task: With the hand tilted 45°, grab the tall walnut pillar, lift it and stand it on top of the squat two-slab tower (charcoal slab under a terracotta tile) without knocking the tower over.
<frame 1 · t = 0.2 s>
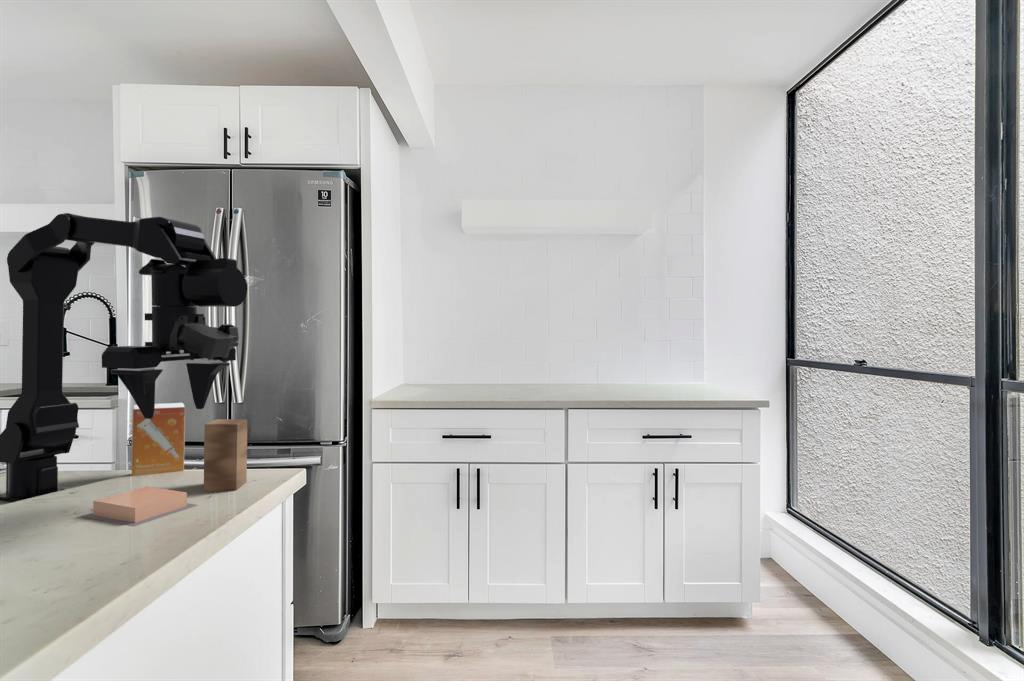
hand: (175, 413, 84), 15 cm above the countertop, tool pointing down, fingers open, 9 cm apart
terracotta tile: (141, 510, 82), point 1 cm above the countertop, touching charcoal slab
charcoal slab: (141, 524, 82), on the countertop, touching terracotta tile
small box: (157, 477, 105), on the countertop
walnut pillar: (225, 493, 95), on the countertop
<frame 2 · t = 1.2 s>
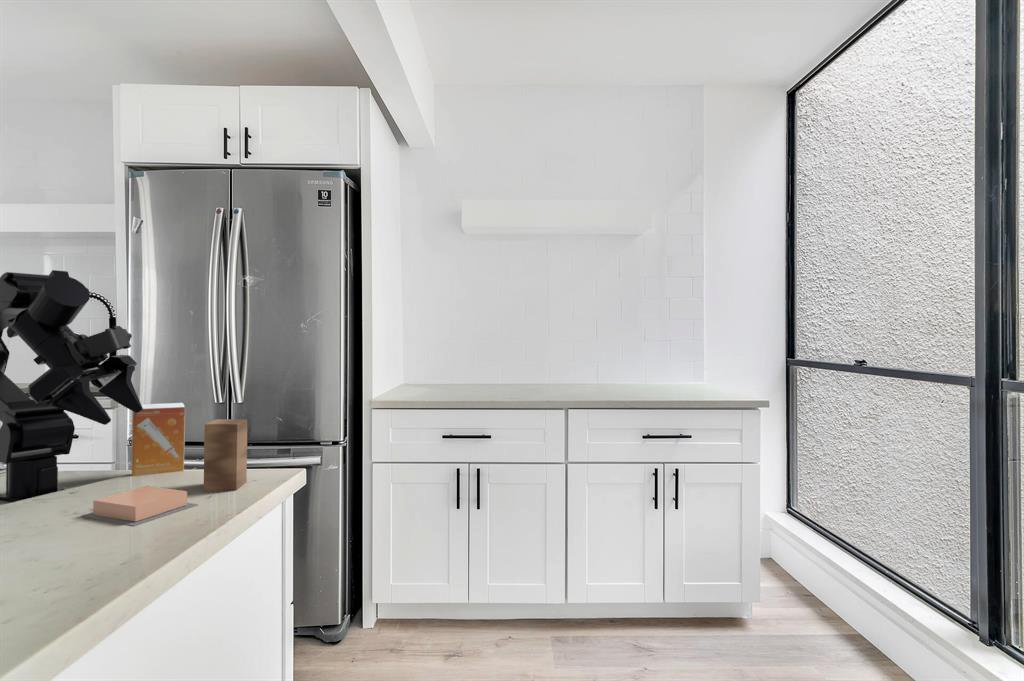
hand: (125, 416, 92), 13 cm above the countertop, tool tilted 40°, fingers open, 9 cm apart
nothing on the countertop moved.
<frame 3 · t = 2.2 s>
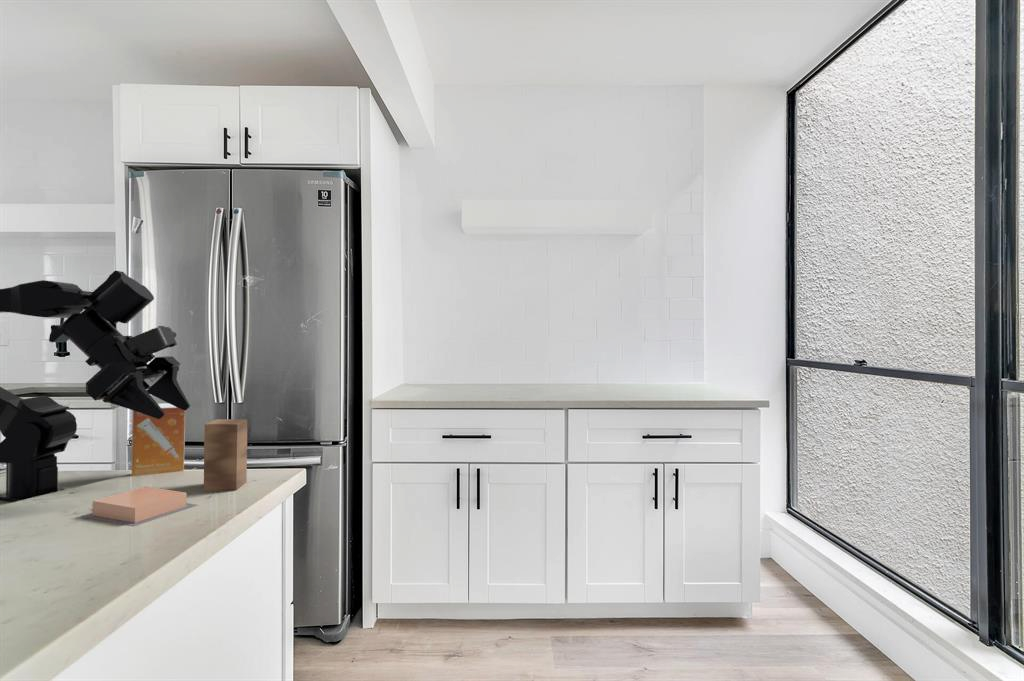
hand: (175, 412, 94), 13 cm above the countertop, tool tilted 45°, fingers open, 9 cm apart
terracotta tile: (140, 510, 82), point 1 cm above the countertop
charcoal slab: (141, 524, 82), on the countertop
everything else where it was.
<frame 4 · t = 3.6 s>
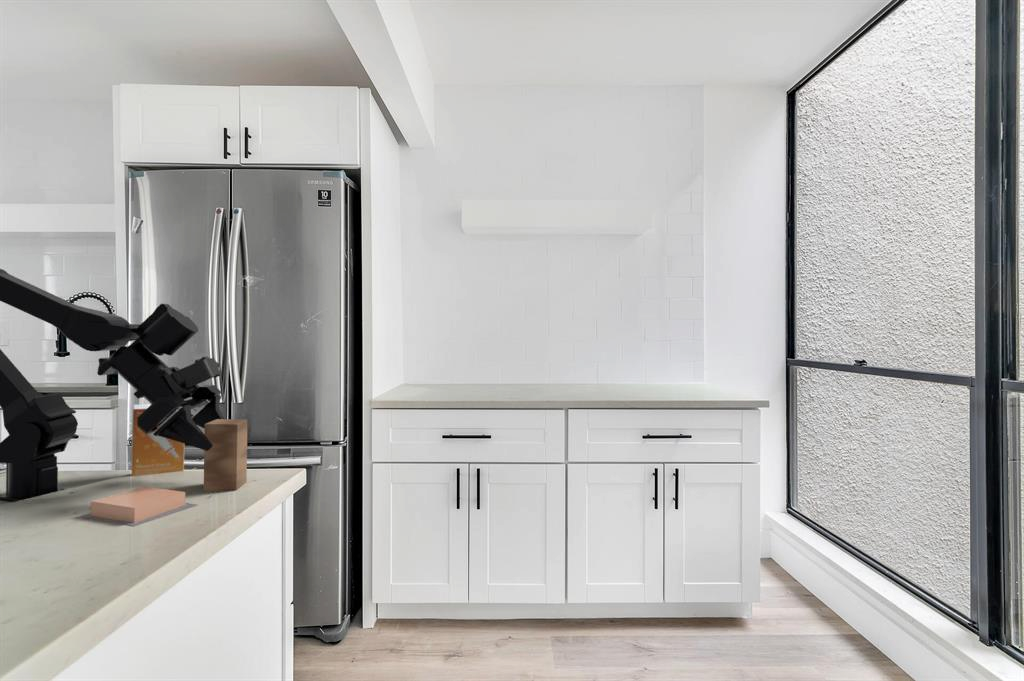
hand: (221, 442, 95), 8 cm above the countertop, tool tilted 45°, fingers open, 9 cm apart
terracotta tile: (139, 510, 82), point 1 cm above the countertop, touching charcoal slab
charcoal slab: (141, 524, 82), on the countertop, touching terracotta tile
everything else where it was.
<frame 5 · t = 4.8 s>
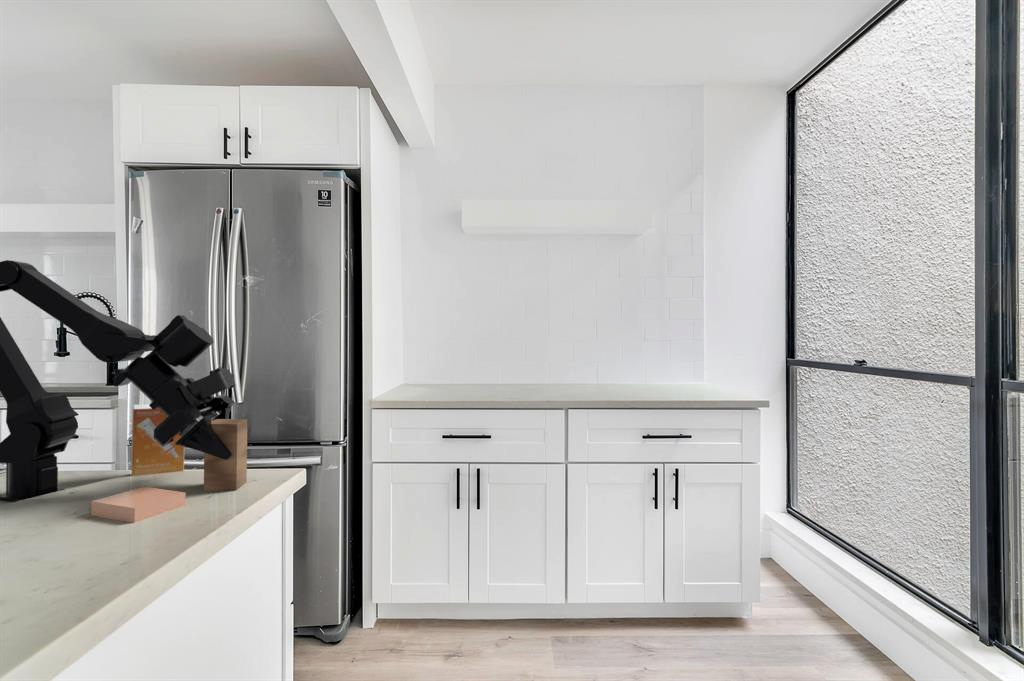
hand: (235, 453, 95), 7 cm above the countertop, tool tilted 45°, fingers closed on walnut pillar, 5 cm apart
walnut pillar: (225, 493, 95), on the countertop, touching gripper
everything else where it was.
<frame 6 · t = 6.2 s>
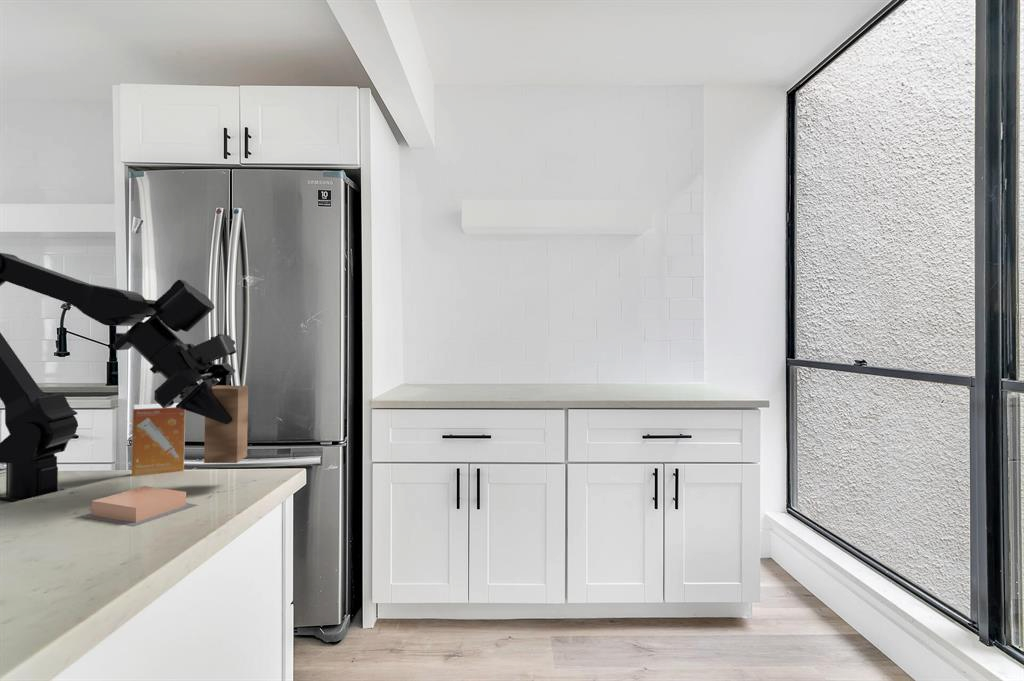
hand: (235, 419, 95), 12 cm above the countertop, tool tilted 45°, fingers closed on walnut pillar, 5 cm apart
walnut pillar: (226, 459, 95), point 6 cm above the countertop, touching gripper
everything else where it was.
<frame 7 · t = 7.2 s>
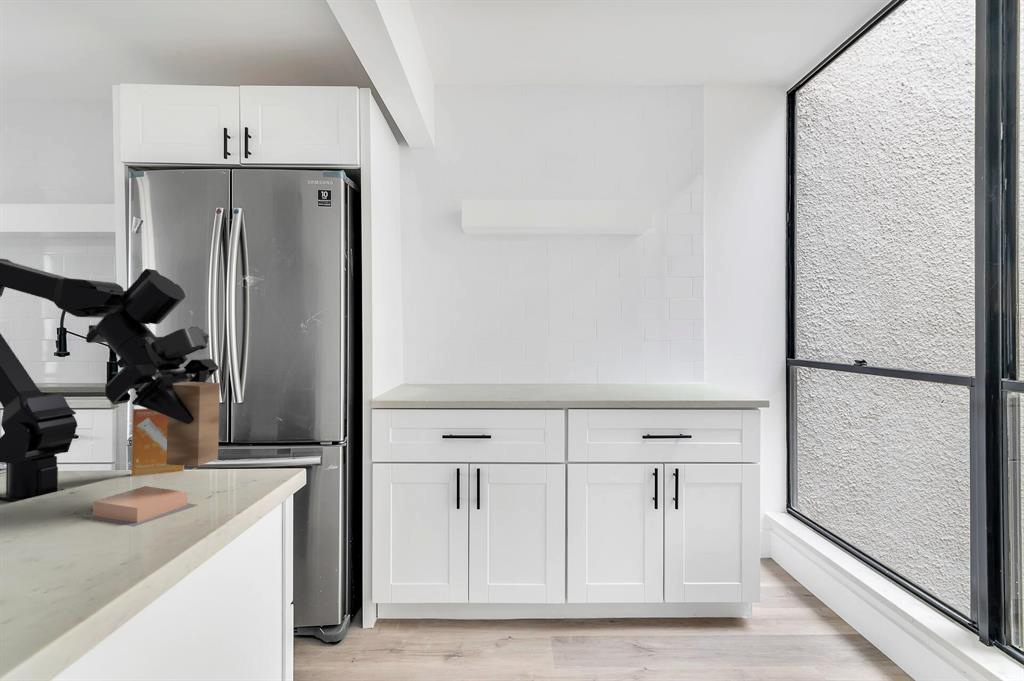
hand: (202, 419, 88), 13 cm above the countertop, tool tilted 45°, fingers closed on walnut pillar, 5 cm apart
walnut pillar: (192, 461, 89), point 7 cm above the countertop, touching gripper
everything else where it was.
when the fingers open (11 cm above the countertop, at t = 8.7 s): walnut pillar drops 1 cm, point 3 cm above the countertop.
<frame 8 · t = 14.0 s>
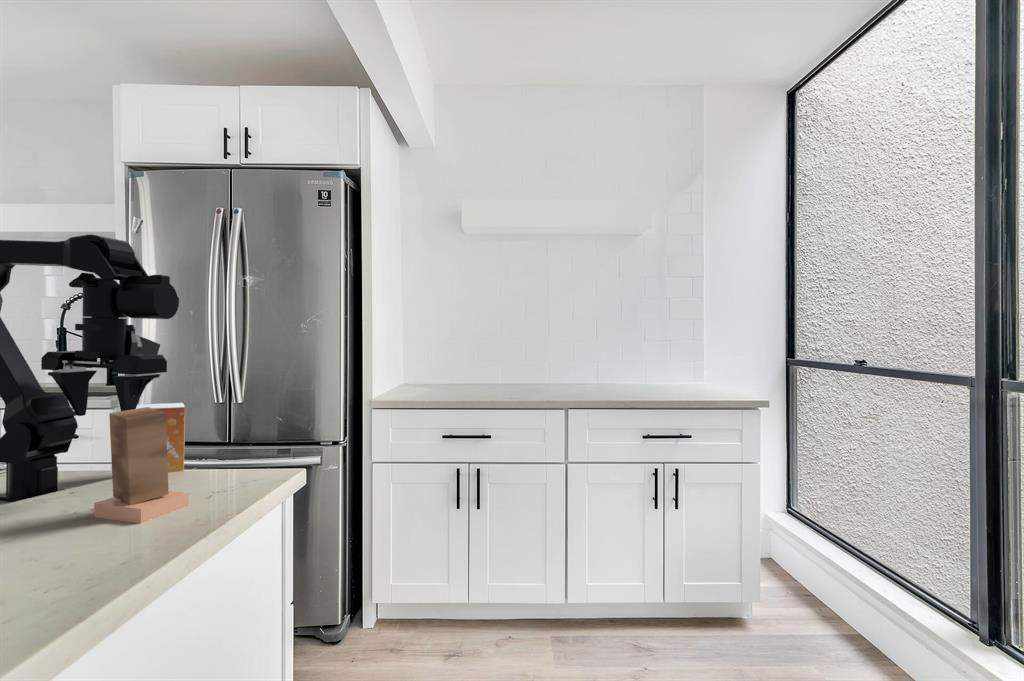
hand: (104, 417, 90), 13 cm above the countertop, tool pointing down, fingers open, 9 cm apart
walnut pillar: (141, 495, 82), point 3 cm above the countertop, tilted 6°
everything else where it was.
at the end: walnut pillar 0.3 cm off-centre on the terracotta tile, point 2.2 cm above the terracotta tile's base; walnut pillar tilted 4°; terracotta tile moved 1.0 cm from its start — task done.
